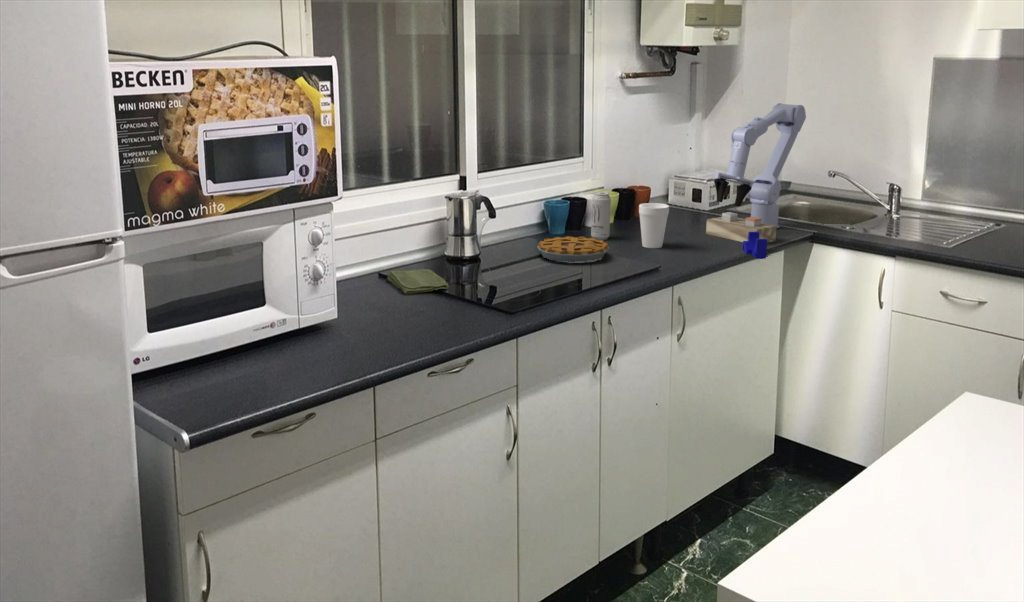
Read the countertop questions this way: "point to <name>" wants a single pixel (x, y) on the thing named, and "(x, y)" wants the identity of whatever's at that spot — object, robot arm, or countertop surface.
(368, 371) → the countertop surface
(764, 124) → the robot arm
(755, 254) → the blue angular block
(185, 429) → the countertop surface
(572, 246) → the pie
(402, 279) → the washcloth
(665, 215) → the foam cup
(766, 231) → the button block
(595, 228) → the energy drink can
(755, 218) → the orange block
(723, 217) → the matte grey cube
